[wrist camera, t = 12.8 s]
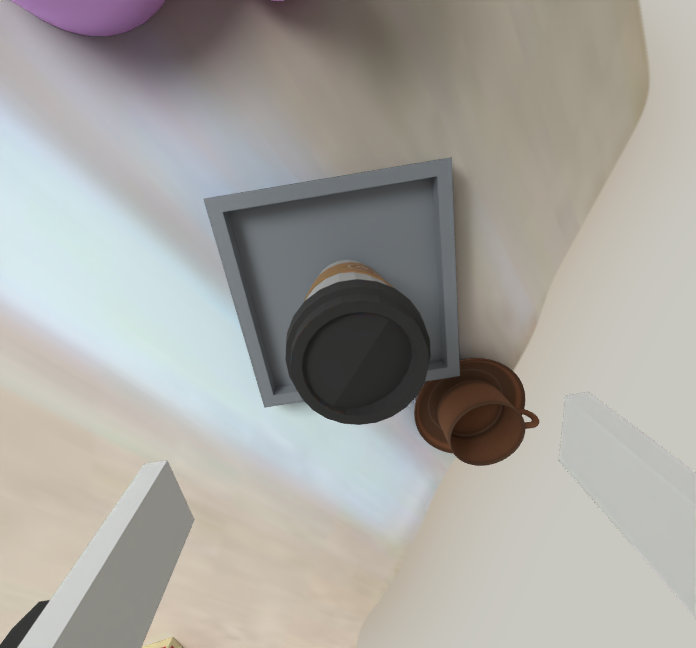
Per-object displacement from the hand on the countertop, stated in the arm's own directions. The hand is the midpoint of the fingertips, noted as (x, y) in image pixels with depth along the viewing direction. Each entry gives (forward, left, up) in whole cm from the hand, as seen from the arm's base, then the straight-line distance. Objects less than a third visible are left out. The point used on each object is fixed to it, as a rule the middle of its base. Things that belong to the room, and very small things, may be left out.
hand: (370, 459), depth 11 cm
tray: (0, 0, -22) cm, 22 cm away
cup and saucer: (+15, +11, -23) cm, 29 cm away
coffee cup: (0, 0, -22) cm, 22 cm away
